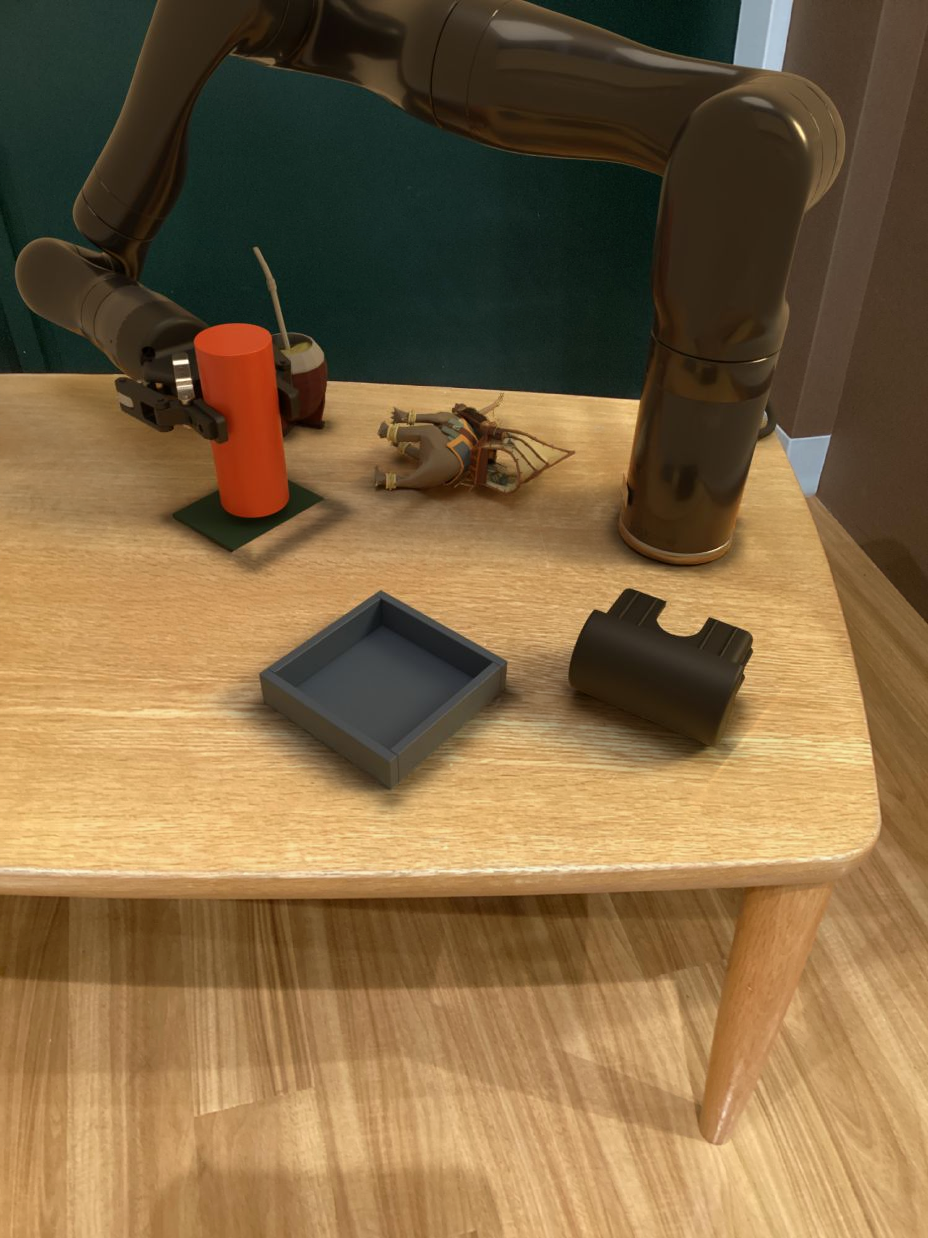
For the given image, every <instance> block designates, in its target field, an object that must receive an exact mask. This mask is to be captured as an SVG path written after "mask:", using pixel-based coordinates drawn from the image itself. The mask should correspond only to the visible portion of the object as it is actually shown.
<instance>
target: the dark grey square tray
mask: <svg viewBox="0 0 928 1238" xmlns="http://www.w3.org/2000/svg"><path fill="white" fill-rule="evenodd" d="M507 671H508V660H507V659H505V658H503V657H501V656H500V655H497V654H496V653H494V652H492V651H491V650H489V649H487V648H485V647H483V646H482V645H480V644H478V643H476V642H474V641H473V640H471V639H469V638H468V637H466V636H464V635H462V634H460V633H459V632H456V631H455V630H453V629H451V628H450V627H448V626H446V625H444V624H443V623H440V622H438V621H437V620H435V619H433V618H431V617H430V616H428V615H426V614H424V613H423V612H421V611H419V610H417V609H415V608H414V607H412V606H410V605H409V604H407V603H405V602H403V601H401V600H400V599H398V598H396V597H394V596H393V595H391V594H389V593H387V592H385V591H383V590H382V589H380V590H378V591H377V592H375V593H374V594H372V595H371V596H370V597H368V598H367V599H365V600H364V601H362V602H361V603H359V604H358V605H357V606H355V607H353V608H352V609H351V610H349V611H347V612H346V613H345V614H343V615H342V616H341V617H339V618H338V619H336V620H335V621H333V622H331V623H330V624H329V625H327V626H326V627H324V628H323V629H321V630H320V631H319V632H317V633H316V634H314V635H312V636H311V637H309V638H308V639H307V640H305V641H304V642H303V643H301V644H300V645H298V646H296V647H295V648H294V649H292V650H291V651H289V652H287V654H285V655H284V656H282V657H281V658H279V659H278V660H276V661H275V662H274V663H272V664H270V665H269V666H267V668H265V669H263V670H262V671H260V672H259V673H258V676H259V678H258V679H259V683H260V688H261V689H260V690H261V695H262V700H263V703H264V704H266V705H267V706H269V707H270V708H272V709H273V710H275V711H276V712H277V713H278V714H280V715H281V716H283V717H285V718H286V719H287V720H289V721H291V722H292V723H293V724H294V725H296V726H297V727H299V728H301V729H302V730H304V731H305V732H306V733H308V735H311V736H312V737H314V738H315V739H316V740H318V741H319V742H321V743H322V744H324V745H325V746H326V747H328V748H329V749H331V750H332V751H334V752H335V753H336V754H338V755H339V756H341V757H342V758H344V759H345V760H346V761H348V762H350V763H351V764H352V765H353V766H355V767H357V768H358V769H359V770H360V771H362V772H364V773H365V774H367V775H368V776H369V777H371V778H372V779H374V780H375V781H377V782H378V783H379V784H381V785H382V786H384V787H385V788H387V789H388V790H389V791H392V790H393V789H394V788H396V786H398V785H399V784H401V782H402V781H403V780H404V779H405V778H407V777H408V776H409V775H410V774H411V773H412V772H413V771H415V770H416V769H417V768H418V767H419V766H420V765H422V763H424V762H425V761H426V760H427V759H428V758H429V757H431V755H433V754H434V753H435V752H436V751H437V750H438V749H440V748H441V747H442V746H443V745H444V744H445V743H446V742H447V741H448V740H450V739H451V738H452V737H453V736H454V735H455V734H456V733H457V732H458V731H460V730H461V729H462V728H463V727H464V726H465V725H466V724H468V723H469V722H470V721H471V720H472V719H473V718H474V717H475V716H477V715H478V714H479V713H480V712H482V710H483V709H484V708H485V707H487V706H488V705H489V704H490V703H491V702H492V701H493V700H495V699H496V698H497V697H499V695H500V694H501V693H502V692H504V690H506V687H507Z"/></svg>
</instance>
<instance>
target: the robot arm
mask: <svg viewBox="0 0 928 1238" xmlns="http://www.w3.org/2000/svg"><path fill="white" fill-rule="evenodd" d="M229 56H230V57H234V58H236V59H237V58H238V59H241V60H244V61H247V62H249V63H253V64H256V65H258V66H262V67H266V68H271V69H276V70H282V71H283V70H284V71H290V72H297V73H303V74H308V75H314V76H319V77H323V78H327V79H332V80H336V81H342V82H345V83H349V84H352V85H355V86H359V87H361V88H364V89H366V90H368V91H370V92H372V93H374V94H375V95H377V96H379V97H380V98H382V99H383V100H385V101H386V102H388V103H389V104H390V105H392V106H394V107H395V108H396V109H399V110H400V111H402V112H403V113H404V114H405V113H406V114H407V115H408V116H410V117H413V119H416V120H418V121H420V122H421V123H424V124H426V125H429V126H431V127H433V128H435V129H437V130H439V131H443V132H445V133H449V134H451V135H453V136H457V137H459V138H462V139H463V140H464V139H465V140H466V141H467V140H468V141H470V142H473V143H477V144H479V145H481V146H485V147H488V148H491V149H495V150H499V151H503V152H507V153H511V154H517V155H525V156H531V157H541V158H550V159H551V158H552V159H566V160H584V161H596V162H597V161H598V162H609V163H616V164H623V165H626V166H630V167H633V168H638V169H641V170H644V171H646V172H650V173H652V174H656V175H658V176H660V177H662V179H661V185H660V192H659V197H658V198H659V199H658V208H657V212H656V213H657V214H656V221H655V222H656V223H655V231H654V238H653V239H654V241H653V249H652V256H651V265H650V273H649V290H650V297H651V300H652V305H653V315H652V322H651V329H650V335H649V341H648V347H647V354H646V360H645V368H644V373H643V380H642V386H641V392H640V396H639V397H640V398H639V402H638V403H639V404H638V409H637V414H636V415H637V416H636V422H635V427H634V428H635V429H634V432H633V433H634V434H633V439H632V446H631V451H630V458H629V464H628V471H627V477H625V476H626V475H625V472H622V473H623V474H622V479H621V480H622V481H621V493H622V497H623V499H622V506H621V509H620V511H619V516H618V517H619V518H618V522H617V527H618V532H619V535H620V536H621V538H622V539H623V541H624V542H625V543H626V544H627V545H628V546H629V547H630V548H632V549H633V550H635V551H636V552H637V553H640V554H641V555H643V556H645V557H647V558H650V559H653V560H656V561H658V562H662V563H668V564H674V565H699V564H704V563H709V562H712V561H714V560H717V559H718V558H720V557H722V556H723V555H725V554H726V553H727V552H728V551H729V549H730V547H731V545H732V543H733V539H734V536H735V535H734V534H735V526H736V522H737V518H738V516H739V515H738V514H739V510H740V506H741V505H742V501H743V496H744V492H745V488H746V485H747V480H748V477H749V474H750V473H749V472H750V469H751V466H752V462H753V457H754V454H755V450H756V446H757V442H758V439H762V438H763V439H764V438H766V437H768V436H770V435H772V433H773V432H774V431H775V430H776V428H777V425H778V417H777V411H776V408H775V405H774V404H773V402H772V400H771V399H770V397H769V396H770V392H771V388H772V384H773V380H774V375H775V372H776V368H777V364H778V361H779V357H780V354H781V349H782V346H783V343H784V339H785V335H786V332H787V328H788V324H789V321H790V305H789V302H788V301H787V299H786V290H787V285H788V281H789V276H790V273H791V268H792V264H793V260H794V255H795V252H796V247H797V243H798V238H799V234H800V230H801V228H802V227H801V226H802V222H803V220H804V216H805V214H806V213H808V212H809V211H810V210H811V209H813V207H814V206H815V205H816V204H817V203H818V202H820V201H821V199H822V198H823V197H824V196H825V194H826V193H828V191H829V189H830V188H831V187H832V186H833V184H834V182H835V180H836V179H837V177H838V175H839V173H840V170H841V168H842V165H843V162H844V158H845V154H846V153H845V152H846V133H845V127H844V123H843V121H842V118H841V115H840V113H839V110H838V109H837V107H836V105H835V103H834V102H833V101H832V99H831V98H830V97H829V96H828V95H827V94H826V93H825V92H824V91H823V90H822V88H820V87H819V86H818V85H817V84H815V83H814V82H812V81H811V80H809V79H807V78H806V77H803V76H801V75H798V74H794V73H791V72H787V71H781V70H773V69H766V68H760V67H752V66H751V67H749V66H743V65H737V64H731V63H725V62H720V61H714V60H708V59H703V58H697V57H692V56H687V55H681V54H678V53H677V54H676V53H672V52H669V51H665V50H661V49H657V48H654V47H651V46H648V45H645V44H643V43H640V42H637V41H635V40H631V39H630V38H628V37H625V36H622V35H620V34H618V33H615V32H612V31H610V30H607V29H605V28H602V27H600V26H597V25H594V24H591V23H589V22H585V21H582V20H580V19H577V18H574V17H571V16H569V15H566V14H563V13H560V12H557V11H553V10H551V9H548V8H545V7H542V6H539V5H537V4H534V3H532V2H529V1H526V0H157V2H156V4H155V7H154V11H153V14H152V17H151V20H150V23H149V26H148V28H147V32H146V34H145V38H144V41H143V44H142V47H141V50H140V54H139V56H138V60H137V63H136V65H135V70H134V73H133V76H132V79H131V82H130V85H129V88H128V90H127V94H126V97H125V100H124V103H123V105H122V108H121V111H120V114H119V116H118V118H117V121H116V123H115V125H114V127H113V130H112V132H111V134H110V135H109V138H108V140H107V142H106V143H105V145H104V147H103V149H102V151H101V153H100V154H99V156H98V158H97V160H96V162H95V163H94V165H93V167H92V169H91V171H90V172H89V175H88V177H87V178H86V180H85V181H84V184H83V186H82V187H81V189H80V191H79V193H78V195H77V196H76V199H75V201H74V204H73V209H72V218H73V222H74V224H75V226H76V228H77V230H78V231H79V233H80V234H81V235H82V236H83V237H84V238H85V239H86V241H88V242H89V243H90V244H92V245H93V246H94V247H96V248H97V249H98V250H100V251H102V252H99V251H96V250H93V249H90V248H87V247H84V246H80V245H77V244H75V243H71V242H69V241H66V240H62V239H59V238H56V237H40V238H37V239H34V240H32V241H30V242H29V243H28V244H27V245H26V246H24V247H23V249H22V250H21V251H20V253H19V254H18V257H17V259H16V262H15V268H14V270H15V271H14V277H15V282H16V287H17V291H18V293H19V295H20V296H21V298H22V300H23V302H24V303H25V305H26V306H27V307H28V308H29V310H31V311H32V312H34V313H35V314H36V315H37V316H39V317H41V318H42V319H45V320H47V321H49V322H51V323H53V324H55V325H56V326H59V327H60V328H63V329H65V330H67V331H70V332H72V333H74V334H77V335H79V336H81V337H83V338H85V339H86V340H88V341H89V342H90V343H91V344H92V345H93V346H94V347H96V348H97V349H98V350H100V351H101V353H103V354H104V355H106V357H107V358H108V359H109V360H110V361H111V363H112V364H113V365H114V366H116V368H117V369H119V370H120V372H122V373H124V375H126V376H119V377H117V378H115V379H114V382H113V383H114V385H115V390H116V394H117V398H118V403H119V406H120V411H122V412H123V413H125V414H127V415H129V416H130V417H132V418H134V419H136V420H138V421H140V422H141V423H143V424H145V425H147V426H149V427H151V428H153V430H154V429H155V430H156V431H158V432H160V433H170V432H173V431H174V430H175V426H178V425H183V427H184V428H185V429H188V430H193V431H194V432H196V433H197V434H198V435H200V436H201V437H202V438H203V439H204V440H207V441H210V442H211V440H214V441H215V442H216V443H218V444H222V443H224V442H227V441H228V432H227V426H226V421H225V418H224V417H223V415H222V414H220V413H219V412H218V411H216V410H215V409H214V408H212V407H211V406H210V405H208V404H207V403H206V402H205V401H204V399H203V393H202V387H201V381H200V376H199V370H198V364H197V358H196V352H195V346H194V339H195V337H196V336H197V335H198V334H199V333H200V332H202V331H204V330H205V329H208V328H211V326H209V325H208V324H207V323H206V322H204V321H203V320H202V319H200V318H198V317H197V316H196V315H194V314H193V313H191V312H190V311H188V310H187V309H186V308H185V307H182V306H180V305H179V304H177V303H176V302H175V301H173V300H172V299H170V298H169V297H167V296H166V295H163V294H162V293H159V292H157V291H153V290H151V288H149V287H147V286H145V285H144V284H143V283H141V277H142V274H143V270H144V266H145V263H146V260H147V256H148V253H149V250H150V247H151V245H152V243H153V242H154V240H155V238H156V237H157V235H158V233H159V232H160V230H161V229H162V227H163V226H164V224H165V222H166V221H167V220H168V218H169V216H170V215H171V213H172V211H173V209H174V208H175V206H176V205H177V202H178V201H179V199H180V197H181V194H182V191H183V189H184V186H185V183H186V180H187V175H188V171H189V159H190V135H191V126H192V121H193V116H194V115H193V114H194V112H195V111H194V110H195V109H196V105H197V101H198V100H199V97H200V95H201V93H202V91H203V89H204V88H205V86H206V84H207V83H208V81H209V80H210V79H211V78H212V76H213V75H214V74H215V72H216V71H217V70H218V68H220V65H222V63H223V62H224V61H225V60H226V58H228V57H229ZM272 345H273V354H274V363H275V372H276V381H277V390H278V399H279V407H280V413H281V414H283V415H284V416H286V417H287V418H288V419H293V418H296V417H299V410H300V409H301V408H300V398H299V392H298V390H297V389H295V388H293V383H292V374H291V361H290V360H289V359H288V358H287V357H286V356H285V355H284V354H283V353H282V352H281V351H280V350H279V349H278V348H277V347H276V346H275V345H274V344H273V343H272ZM765 415H766V418H767V421H766V425H765V426H764V427H762V424H763V419H764V416H765ZM761 427H762V428H761Z"/></svg>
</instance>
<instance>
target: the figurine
mask: <svg viewBox="0 0 928 1238" xmlns="http://www.w3.org/2000/svg"><path fill="white" fill-rule="evenodd" d="M504 398H505V392H500V393H499V396H498V397H497V399H496V400H495V401H494V402H493V403H492V404H490V405H488V406H485V407H483V408H481V409H479V410H478V409H477V408H476V407H474V406H470V405H469V406H468V405H466V404H465V403H462V402H461V403H457V402H455V404H454V406H453V407H451V412H450V411H439V412H436V413H432V412H431V413H417V412H416V411H414V409H412V410H408V412H407V411H404V410H401V409H399V408H397V407H396V406H392V408H393V411H390V414H392V415H391V416H389V418H390V419H391V420H392V421H391V422H389V425H388V423H386V421H385V420H382V421H381V423H380V426H379V429H378V431H377V432H376V435H377V436H379V439H386V440H387V442H390V444H389V446H391V447H395V448H397V452H399V455H400V456H401V455H402V454H403V455H405V456H406V455H407V456H408V457H410V458H411V459H413V460H414V461H417V462H419V464H418V468H417V469H416V470H415V471H413V472H412V473H411V474H407V475H397V474H396V473H394V472H393V471H392V470H390V472H389V473H388V472H386V473H385V474H384V473H383V472H382V471H381V470H380V469H379V468H380V467H379V465H378V464H377V463H374V481H375V485H374V487H378V486H383V485H384V486H385V489H386V490H389V491H390V492H391V491H392V489H393V490H394V489H396V488H409V489H416V490H417V489H418V490H425V489H432V488H436V487H438V486H440V485H442V484H443V486H447V485H451V484H453V483H455V482H456V481H457V480H459V479H460V478H461V477H463V476H464V475H465V474H467V473H468V472H469V474H467V476H465V477H464V478H463V479H462V480H460V481H459V482H457V484H455V485H454V486H453V488H454V489H456V488H457V487H458V486H465V487H468V488H469V489H468V490H467V491H468V492H470V491H472V490H473V489H474V488H475V487H476V486H478V485H481V486H483V487H487V488H489V489H490V490H492V491H495V492H496V493H499V494H501V495H504V496H508V495H511V494H514V493H515V492H516V491H518V490H519V489H520V488H521V486H522V485H525V484H528V483H529V482H530V481H531V480H533V479H534V478H536V477H539V475H541V474H542V473H543V472H544V471H545V470H547V469H549V468H551V467H553V466H554V465H557V464H559V463H561V462H563V461H564V460H567V459H568V458H570V457H571V456H573V455H575V454H576V451H575V450H570V449H567V448H566V449H565V448H562V447H558V446H554V444H553V443H551V444H549V443H547V442H545V441H543V440H541V439H539V438H537V437H536V436H533V435H532V434H530V433H528V432H524V431H521V430H520V429H519V430H518V429H513V428H504V427H503V428H502V427H500V425H501V424H502V422H503V418H497V417H496V416H495V409H496V408H499V407H500V405H501V403H503V401H504ZM491 412H492V416H493V419H494V420H493V421H491V420H490V418H489V417H488V416H487V414H489V413H491ZM401 424H406V425H407V426H401ZM415 424H421V425H415ZM411 443H412V444H417V443H419V448H418V447H415V446H413V445H412V444H411ZM498 451H501V452H505V453H506V454H508V455H510V456H511V459H512V460H513V463H515V466H516V467H514V468H511V467H510V468H509V467H507V466H505V465H503V464H501V463H499V462H497V458H498ZM497 465H498V466H501V469H502V470H514V471H517V472H516V473H517V476H510V475H509V474H506V473H502V472H501V471H500V470H499V468H498V466H497ZM470 478H472V479H470ZM464 481H466V482H469V483H474V484H469V483H464Z"/></svg>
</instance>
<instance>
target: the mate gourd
mask: <svg viewBox="0 0 928 1238" xmlns="http://www.w3.org/2000/svg"><path fill="white" fill-rule="evenodd" d="M252 251H253V252H254V254H255V256H256V258H257V260H258V262H259V264H260V266H261V269H262V270H263V273H264V275H265V279H266V281H265V282H266V285H267V289H268V292H270V296H271V300H272V304H273V308H274V311H275V315H276V320H277V322H278V324H277V325H278V327H279V331H280V332H279V333H274V334H271V337H272V343H273V344H274V345H275V346H276V347H277V348H278V349H279V350H280V351H281V352H282V353H283V354H284V355H285V356H286V357H287V358H288V359H289V360H290V361H291V374H292V383H293V388H295V389H297V390H298V392H299V398H300V408H301V409H300V410H299V417H296V418H293V419H288V418H287V417H286V416H284V415H283V414H281V413H280V416H281V425H282V434H283V438H285V437H286V436H288V434H289V433H291V432H292V430H293V429H294V428H295V427H296V426H303V427H308V428H313V429H319V430H323V429H324V428H325V427H326V421H325V420H323V415H324V411H325V407H326V406H325V405H326V393H327V387H328V364H327V360H326V357H325V352H324V351H323V350H322V348H321V347H320V346H319V344H318V343H316V341H315V340H314V339H313V338H312V337H311V336H308V335H306V334H303V333H298V332H287V330H286V326H285V322H284V318H283V314H282V309H281V305H280V301H279V296H278V293H277V290H278V288H277V284H276V280H275V278H274V277H273V275H272V273H271V270H270V268H269V266H268V264H267V262H266V260H265V259H264V256H263V254H262V252H261V251H260V249H259V247H258V246H255V247H253V248H252Z"/></svg>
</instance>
